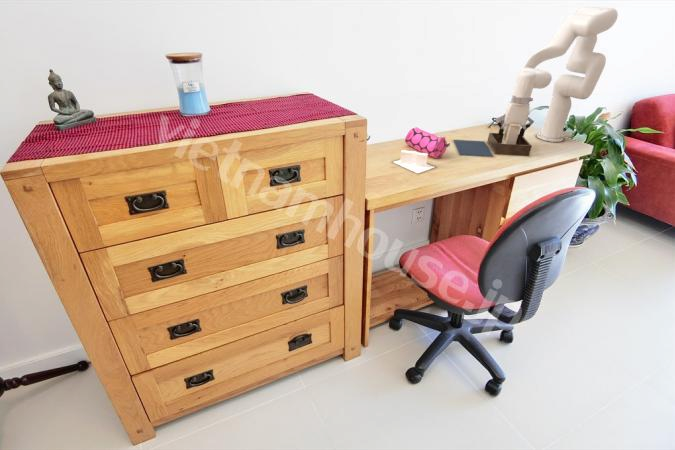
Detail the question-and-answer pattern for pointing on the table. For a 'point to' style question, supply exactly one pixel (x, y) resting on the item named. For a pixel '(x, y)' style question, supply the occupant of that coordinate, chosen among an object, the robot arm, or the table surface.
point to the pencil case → (426, 142)
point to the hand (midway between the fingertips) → (510, 136)
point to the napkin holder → (414, 161)
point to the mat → (472, 148)
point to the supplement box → (511, 134)
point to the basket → (509, 145)
